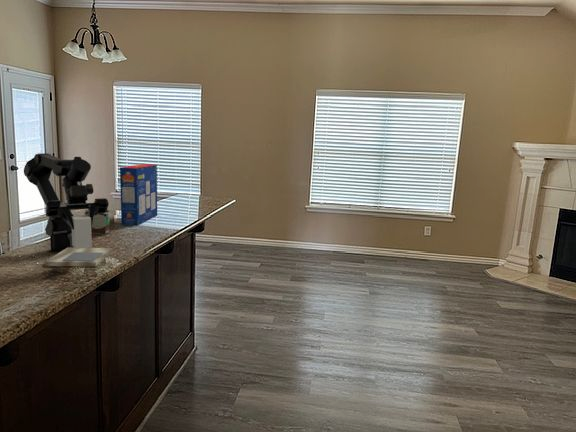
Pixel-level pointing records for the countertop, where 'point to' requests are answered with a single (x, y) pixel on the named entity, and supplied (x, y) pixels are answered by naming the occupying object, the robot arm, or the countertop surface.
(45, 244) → the countertop surface
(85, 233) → the grey post
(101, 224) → the food container
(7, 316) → the countertop surface
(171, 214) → the countertop surface
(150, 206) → the pasta box
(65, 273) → the countertop surface
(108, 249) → the board
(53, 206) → the robot arm
